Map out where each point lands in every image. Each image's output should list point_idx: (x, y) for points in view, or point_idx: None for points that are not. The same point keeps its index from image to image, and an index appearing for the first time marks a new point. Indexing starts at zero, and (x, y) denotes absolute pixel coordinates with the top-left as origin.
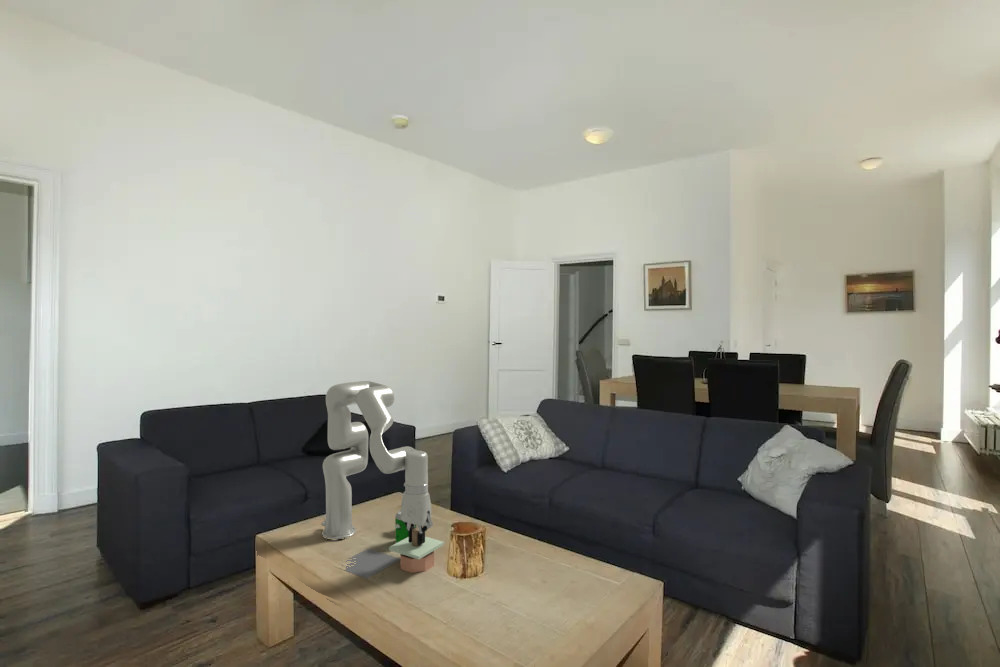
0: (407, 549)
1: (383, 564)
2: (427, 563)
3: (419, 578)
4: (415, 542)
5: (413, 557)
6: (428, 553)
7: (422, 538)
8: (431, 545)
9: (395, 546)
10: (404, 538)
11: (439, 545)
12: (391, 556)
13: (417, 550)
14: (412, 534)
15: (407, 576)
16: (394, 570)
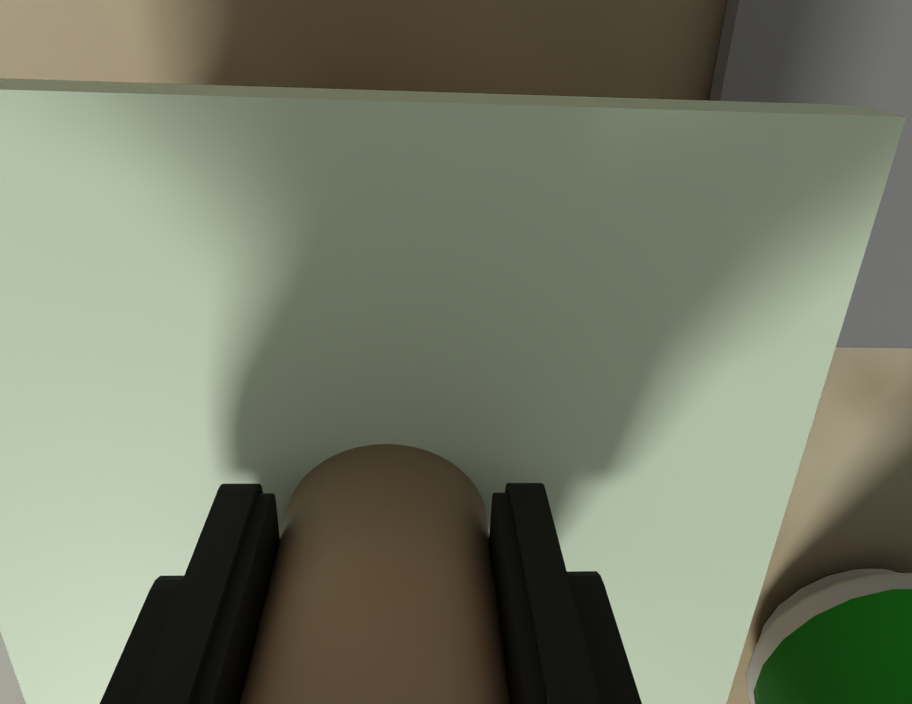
0: (384, 253)
1: (837, 89)
2: None
3: (90, 65)
4: (331, 511)
5: (50, 84)
6: None
7: (126, 657)
8: (107, 621)
9: (759, 231)
10: (873, 663)
11: (35, 688)
12: (846, 334)
13: (145, 333)
14: (426, 658)
15: (289, 17)
16: (592, 68)
